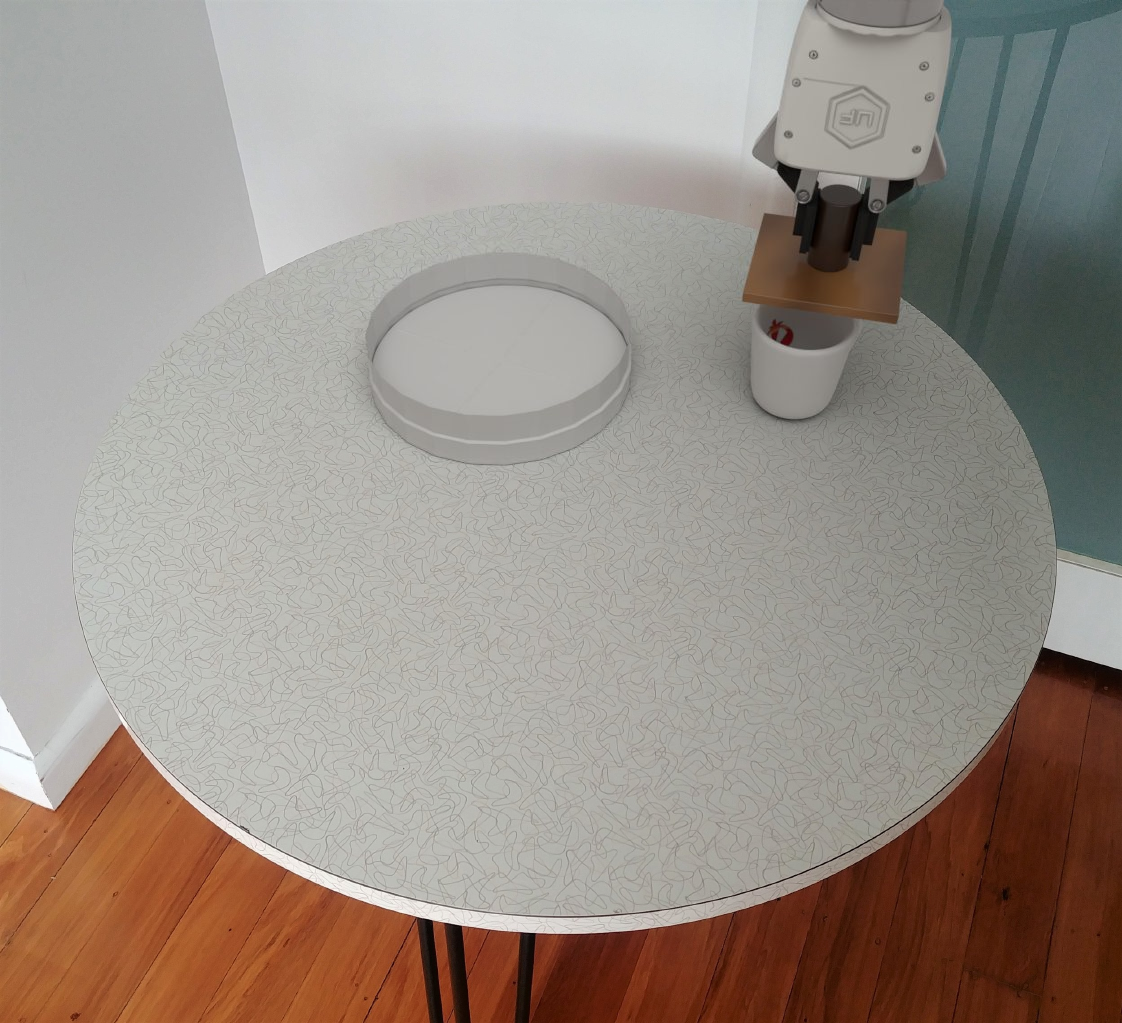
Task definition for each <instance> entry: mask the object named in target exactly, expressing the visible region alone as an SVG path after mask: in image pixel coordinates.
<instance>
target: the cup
mask: <svg viewBox="0 0 1122 1023" xmlns="http://www.w3.org/2000/svg"><path fill="white" fill-rule="evenodd" d="M863 324H864V320H863V319H856V318H849V317H843V316H836V315H829V314H822V313H815V312H809V311H802V310H795V309H788V308H781V307H775V306H768V305H761V304H758V306H757V307H756V308H755V310H754V312H753V314H752V317H751V342H750V344H751V346H750V348H751V349H750V387H751V392H752V393H751V394H752V396H753V398H754V401H756V403H757V404H758V405H759V407H761V408H762V410H764V411H766V412H767V413H768V414H770V415H773V416H775V417H778V418H782V419H787V420H804V419H808V418H811V417H814V416H816V415H818V414H819V413H821V412H823V410H825V408H826V407H827V406H828V405H829V404H830V403H831V400H832V398H833V397H834V394H835V392H836V389H837V387H838V384H839V381H840V378H841V376H842V374H843V370H844V368H845V365H846V362H847V360H848V357H849V355H850V351H851V349H853V347H854V346H855V344H856V342H857V340H858V338H859V336H860V333H861V331H862V328H863Z"/></svg>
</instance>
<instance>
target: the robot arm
mask: <svg viewBox="0 0 1122 1023" xmlns="http://www.w3.org/2000/svg"><path fill="white" fill-rule="evenodd" d="M944 3H945V0H808V1H807V2H806V4H805V6H804V8H803V10H802V12H801V15H800V18H799V21H798V24H797V27H796V31H795V33H794V37H793V40H792V44H791V48H790V52H789V56H788V60H787V64H786V69H785V74H784V79H783V85H782V90H781V95H780V100H779V106H778V110H777V111H776V112H775V114H774V115H773V117H772V118H771V119H770V120H769V121H768V123H767V125H766V126H765V127H764V129H763V130H762V131H761V132H760V134H758V137H757V138H756V139H755V141H754V144H753V147H752V151H751V155H752V156H753V158H754V159H756V160H757V161H759V162H760V163H762V164H764V166H767V167H768V168H769V169H771V170H774V171H776V173H777V174H778V176H779V178H781V180H783V182H784V183H785V185H787V187H788V188H789V189H790V190H791V191H792V193H793V194H794V200H795V201H796V202H797V205H796V211H795V216H794V217H795V223H794V229H793V235H795V236H802V238H801V244H800V250H799V253H803V254H806V252H809V250H810V245H811V239H812V234H813V228H814V223H815V218H816V212H817V207H818V201H819V199H818V197H819V192H820V191H821V189H822V188H820V187H819V186H820V182H819V181H818V178H819V174H820V173H825V174H826V173H827V174H834V175H843V176H851V177H859V178H866V179H867V178H868V179H870V185H869V186H868V187H866V188H865V190H864V193H861V195H862V202H861V205H860V208H859V213H858V217H857V222H856V226H855V231H854V236H853V240H852V245H851V250H850V255H849V258H852V260H854V261H859V258H860V253H861V249H862V245H870V246H872V243H873V239H874V234H875V230H876V228H877V225H878V221H879V217H880V213H882V212H884V211H885V210H886V207H887V206H888V205H890V204H891V203H892V202H894V201H896V200H898V199H899V198H900V197H903V196H904V195H905V194H908V193H909V192H911V191H912V190H913V189H914V188H917V187H918V188H920V187H924V186H926V185H931V184H933V183H936V182H940V181H942V180H944V178H945V177H946V175H947V160H946V156H945V154H944V150H943V147H942V144H941V141H940V137H939V133H938V131H937V125H938V120H939V117H940V111H941V107H942V106H941V105H942V101H943V96H944V91H945V87H946V81H947V77H948V76H947V75H948V69H949V63H950V54H951V44H952V24H953V23H952V18H951V13H950V11H949V9H948V8H947V7H946V6H945V5H944Z"/></svg>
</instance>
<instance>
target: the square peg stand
mask: <svg viewBox="0 0 1122 1023" xmlns="http://www.w3.org/2000/svg"><path fill="white" fill-rule="evenodd" d="M818 199H819V201H818V207H817V212H816V218H815V223H814V228H813V234H812V239H811V245H810V250H809V252H806V254H803V253H799V250H800V244H801V238H802V236H795V235H793V229H794V223H795V217H796V216H792V215H791V216H790V215H784V214H783V215H782V214H777V213H770V212H769V213H768V212H764V213H763V215H762V219H761V223H760V227H759V231H758V234H757V239H756V242H755V245H754V250H753V254H752V257H751V261H750V265H749V268H748V272H747V276H746V280H745V283H744V287H743V291H742V297H741V302H742V303H748V304H755V305H760V304H761V305H768V306H775V307H781V308H788V309H795V310H802V311H809V312H815V313H822V314H829V315H836V316H843V317H849V318H856V319H863V321H871V322H877V323H885V324H891V325H897V324H898V322H899V317H900V308H901V299H902V297H901V296H902V288H903V278H904V277H903V276H904V266H905V256H906V246H907V245H906V244H907V234H908V231H905V230H900V229H899V230H898V229H890V228H884V227H883V228H882V227H876V230H875V234H874V239H873V243H872V246H870V245H862V249H861V253H860V258H859V261H854V260H852V258H849V255H850V250H851V245H852V240H853V236H854V231H855V226H856V222H857V217H858V213H859V208H860V205H861V202H862V193H861V192H860V191H859V190H858V189H857V188H856V187H853V186H850V185H848V184H842V183H841V184H840V183H835V184H829V185H825V186H824V187H823V188H821V191H820V192H819V197H818Z"/></svg>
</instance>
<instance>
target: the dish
mask: <svg viewBox="0 0 1122 1023" xmlns="http://www.w3.org/2000/svg"><path fill="white" fill-rule="evenodd" d="M630 333H631V319H630V316H629V314H628V311H627V309H626V306H625V304H624V301H623V299H622V298H621V297H620V295H618V293H616V292H615V290H614V289H613V288H612V287H611V286H610V285H609V284H608V283H607V281H605V280H603V279H601V278H600V277H599V276H597V275H595V274H594V273H592V272H590V271H589V270H588V269H585V267H582V266H578V265H576V264H573V263H570V262H568V261H565V260H562V259H560V258H557V257H551V256H546V255H540V254H534V253H529V252H502V251H501V252H499V251H498V252H497V251H495V252H494V251H493V252H485V253H479V254H478V253H477V254H469V255H463V256H460V257H456V258H452V259H449V260H445V261H442V262H438V263H435V264H433V265H430V266H427V267H426V268H424V269H422V270H420V271H418V272H416V273H413V274H411V275H410V276H408V277H406V278H404V279H403V280H402V281H401V282H399V284H397V285H395V286H394V287H393V288H391V289H390V291H389V290H388V291H387V293H385V295H384V296H383V298H381V299H380V302H379V303H378V304H377V305H376V307H375V308H374V310H373V311H372V312H371V314H370V318H369V321H368V324H367V327H366V330H365V343H366V350H367V357H368V359H367V364H368V365H367V366H368V375H369V382H370V385H371V391H372V396H373V401H374V404H375V406H376V409H377V410H378V412H379V413H380V415H381V417H382V419H383V421H384V423H385V424H386V425H387V426H388V427H389V428H390V429H391V430H392V431H393V432H394V433H396V434H397V435H398V436H399V437H401V438H402V439H403V440H404V442H406V443H408V444H410V445H412V446H414V447H416V448H418V449H421V450H422V451H424V452H427V453H429V454H430V455H432V456H435V457H439V458H443V459H447V460H451V461H455V462H461V463H465V464H469V465H499V466H501V465H502V466H503V465H504V466H507V465H508V466H509V465H515V464H520V463H527V462H534V461H535V462H536V461H542V460H544V459H548V458H550V457H552V456H556V455H558V454H561V453H564V452H567V451H570V450H572V449H575V448H577V447H578V446H580V445H581V444H583V443H585V442H586V441H588V440H589V439H591V438H592V437H594V436H596V435H597V434H599V433H600V432H602V431H603V430H604V429H605V427H607V426H608V425H609V423H610V422H611V421H612V420H613V419H614V418H615V417H616V416H617V415H618V414H619V413H620V411H621V409H622V407H623V404H624V403H625V400H626V398H627V395H628V394H629V391H630V388H631V386H630V385H631V384H630V382H631V379H630V378H631V370H632V351H633V350H632V347H633V346H632V344H631V341H630V340H631V338H630V337H631V336H630V335H631V334H630Z"/></svg>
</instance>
